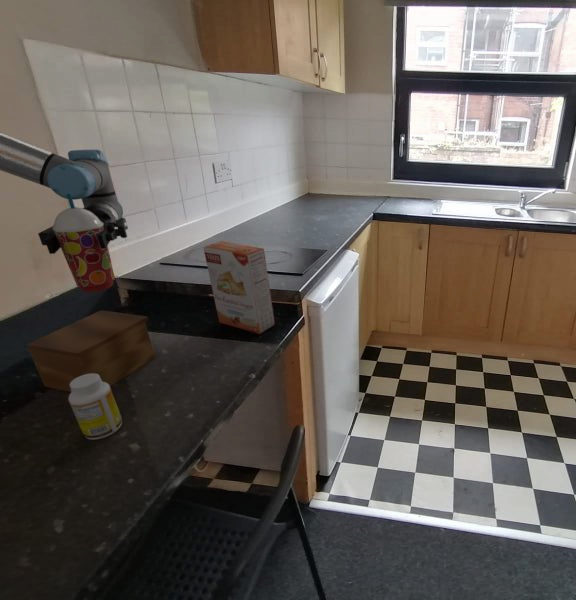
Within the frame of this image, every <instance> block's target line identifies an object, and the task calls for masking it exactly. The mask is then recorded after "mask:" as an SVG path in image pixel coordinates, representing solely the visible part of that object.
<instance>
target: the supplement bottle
mask: <svg viewBox="0 0 576 600" xmlns="http://www.w3.org/2000/svg"><path fill="white" fill-rule="evenodd" d="M70 388H71V392H70V394H68V399H67V400H68V403H69V405H70V407H71V409H72V412H73V414H74V416H75V420H76V421H77V424H78V426H79V428H80V430H81V433H82V436H83V437H84V438H85V439H88V440H92V441H94V440H95V441H96V440H103V439H105V438H107V437H109V436H111V435H113V434H115V433H116V432H117V431H119V429H120V428H121V427H122V425H123V418H122V415H121V412H120V409H119V407H118V404H117V402H116V399H115V397H114V394H113V391H112V388H111V387H110V386H109V384H108V383H106V382H102V380H101V378H100V376H99V375H98V374H94V373H92V374H86V375H82V376H79V377H77V378H75V379H74V380H73V381H71V383H70Z"/></svg>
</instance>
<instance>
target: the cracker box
mask: <svg viewBox="0 0 576 600" xmlns="http://www.w3.org/2000/svg"><path fill="white" fill-rule="evenodd" d="M202 248H203V252H204V257H205V262H206V267H207V271H208V276H209V279H210V280H209V281H210V284H211V291H212V294H213V299H214V305H215V309H216V314H217V317H218V322H219V324H223V325H226V326H230V327H233V328H237V329H240V330H244V331H247V332H251V333H255V334H258V335H261V334H262V333H264V332H266V331H267V330H269V329H271V328H272V327H274V326H275V325H276V322H275V321H276V320H275V315H274V308H273V303H272V295H271V287H270V280H269V274H268V273H269V272H268V267H267V261H266V253H265V248H264V247H258V246H251V245H247V244H240V243H235V242H229V241H223V240H221V241H217V242H214V243H211V244H208V245H205V246H203V247H202Z"/></svg>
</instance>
